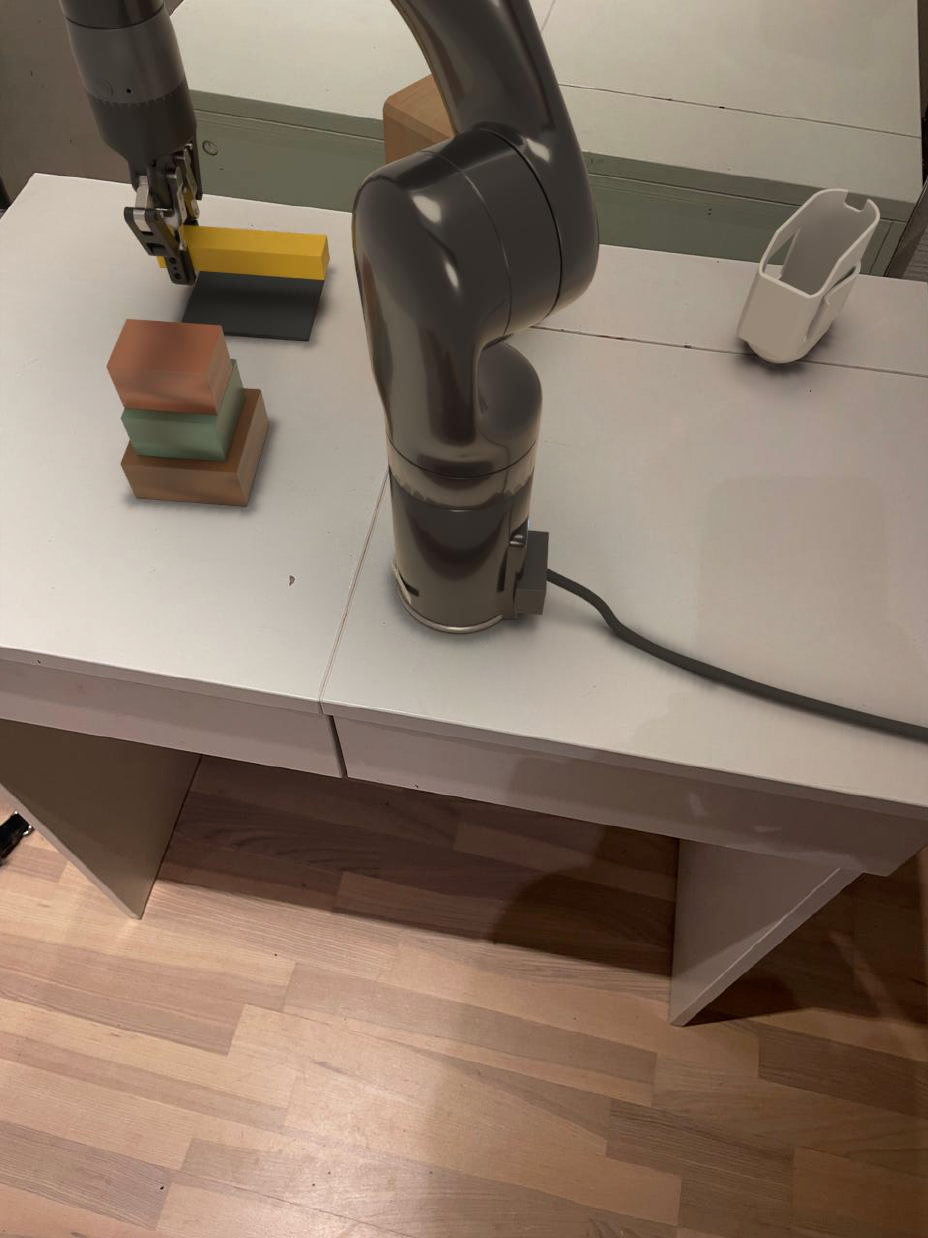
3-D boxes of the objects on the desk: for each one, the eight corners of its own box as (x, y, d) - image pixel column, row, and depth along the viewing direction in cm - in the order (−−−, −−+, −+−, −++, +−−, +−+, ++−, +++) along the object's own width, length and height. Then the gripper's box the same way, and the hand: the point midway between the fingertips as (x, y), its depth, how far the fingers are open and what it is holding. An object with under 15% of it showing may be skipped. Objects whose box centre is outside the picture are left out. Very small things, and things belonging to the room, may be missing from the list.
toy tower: (269, 423, 74) (241, 307, 64) (246, 506, 70) (212, 395, 59) (165, 416, 75) (120, 299, 64) (135, 497, 70) (82, 385, 60)
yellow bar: (330, 259, 80) (327, 234, 78) (324, 280, 78) (321, 256, 76) (168, 247, 80) (160, 222, 78) (159, 268, 79) (151, 243, 76)
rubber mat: (326, 270, 85) (326, 267, 85) (308, 341, 80) (308, 337, 79) (205, 262, 85) (204, 258, 85) (179, 331, 80) (178, 327, 80)
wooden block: (390, 316, 82) (376, 95, 65) (462, 267, 86) (467, 47, 69) (468, 368, 78) (475, 150, 61) (540, 314, 82) (565, 95, 65)
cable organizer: (719, 361, 79) (760, 244, 69) (785, 293, 84) (832, 174, 74) (784, 395, 77) (836, 280, 67) (848, 323, 82) (905, 206, 72)
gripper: (157, 127, 62) (212, 324, 77) (204, 28, 69) (246, 225, 84) (52, 120, 62) (127, 317, 77) (111, 21, 69) (169, 219, 84)
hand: (189, 268), depth 80 cm, fingers closed on yellow bar, 3 cm apart
